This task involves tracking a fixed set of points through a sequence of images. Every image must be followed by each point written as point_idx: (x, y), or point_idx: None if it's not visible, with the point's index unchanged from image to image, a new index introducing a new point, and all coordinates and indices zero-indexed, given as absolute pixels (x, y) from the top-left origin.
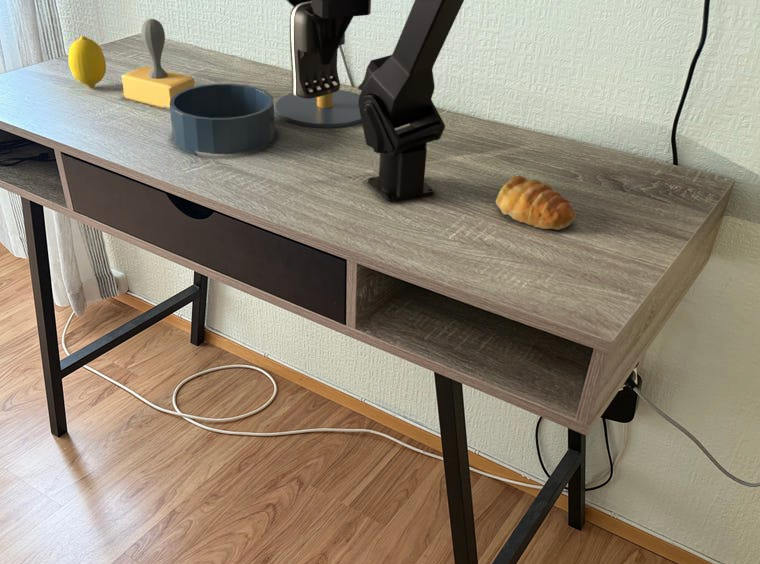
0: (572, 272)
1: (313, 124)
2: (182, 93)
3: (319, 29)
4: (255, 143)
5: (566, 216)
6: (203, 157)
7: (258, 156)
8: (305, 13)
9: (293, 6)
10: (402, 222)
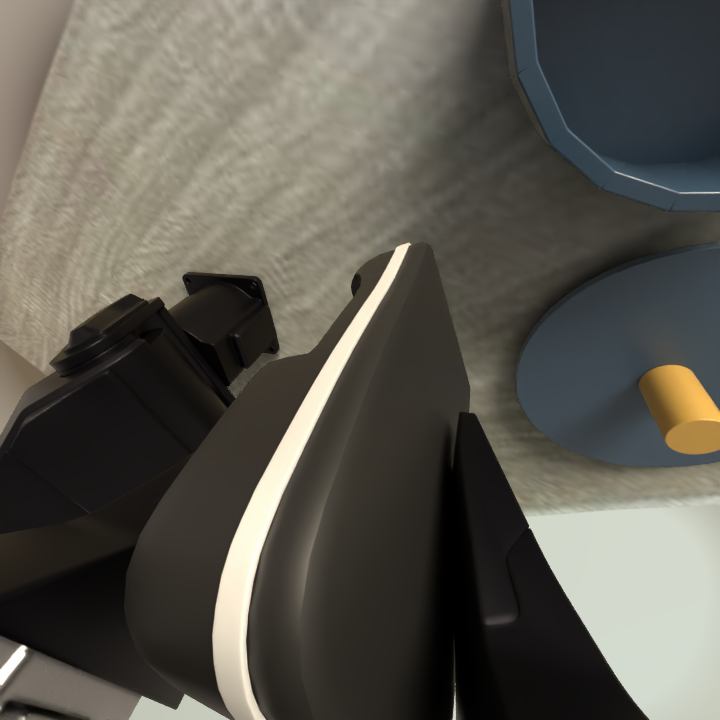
0: None
1: (562, 302)
2: None
3: (128, 500)
4: (507, 49)
5: None
6: None
7: (474, 54)
8: (134, 596)
9: (561, 717)
10: (131, 260)
